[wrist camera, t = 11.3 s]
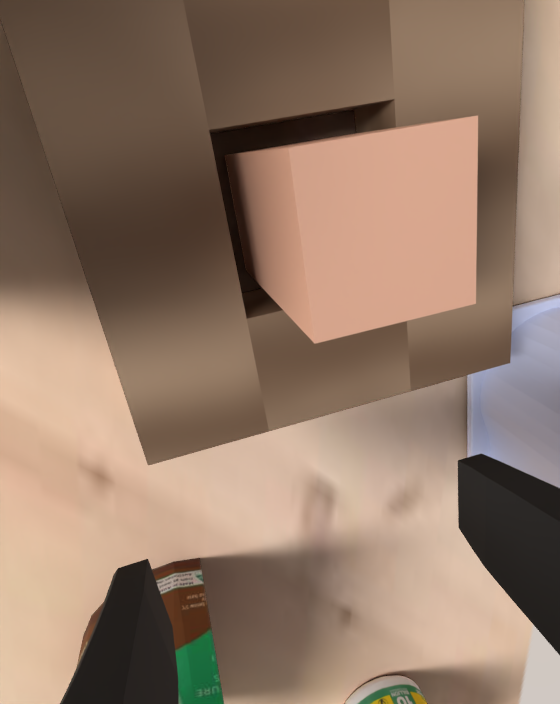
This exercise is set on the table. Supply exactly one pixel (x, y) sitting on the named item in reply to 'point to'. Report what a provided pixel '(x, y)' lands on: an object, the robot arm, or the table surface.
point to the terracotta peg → (362, 225)
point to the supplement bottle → (388, 692)
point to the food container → (185, 631)
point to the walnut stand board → (207, 202)
